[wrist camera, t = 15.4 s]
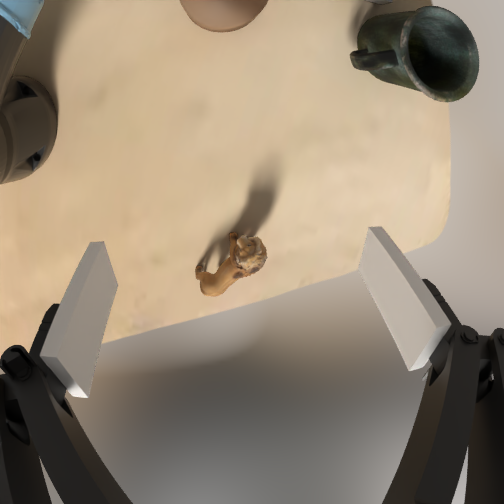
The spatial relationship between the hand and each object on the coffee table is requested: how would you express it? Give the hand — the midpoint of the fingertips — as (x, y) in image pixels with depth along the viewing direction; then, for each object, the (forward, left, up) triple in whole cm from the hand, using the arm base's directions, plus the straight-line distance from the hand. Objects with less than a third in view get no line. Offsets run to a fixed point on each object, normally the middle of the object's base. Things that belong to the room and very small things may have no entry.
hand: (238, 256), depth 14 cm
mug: (+20, +12, -27) cm, 35 cm away
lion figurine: (0, -18, -27) cm, 33 cm away
